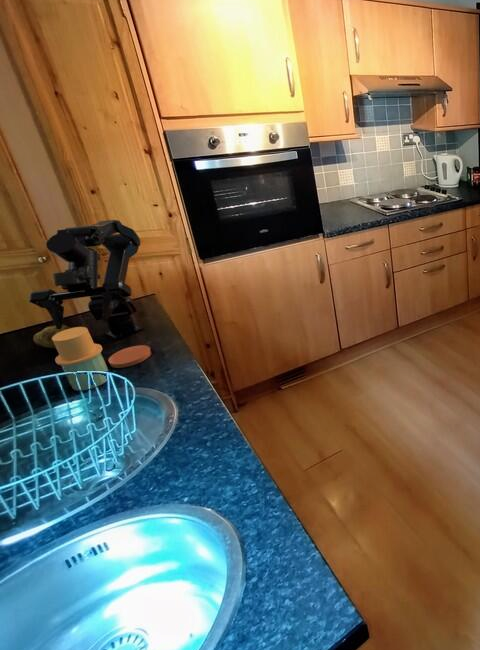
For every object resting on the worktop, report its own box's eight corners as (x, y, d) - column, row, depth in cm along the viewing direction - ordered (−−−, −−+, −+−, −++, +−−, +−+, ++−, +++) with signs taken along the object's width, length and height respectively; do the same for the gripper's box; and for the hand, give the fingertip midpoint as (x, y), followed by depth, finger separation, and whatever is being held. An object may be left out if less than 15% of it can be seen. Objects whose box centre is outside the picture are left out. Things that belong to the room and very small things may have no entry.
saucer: (103, 362, 122) (101, 358, 121) (140, 345, 129) (139, 342, 129) (120, 371, 118) (118, 367, 118) (158, 354, 125) (156, 350, 125)
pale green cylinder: (67, 385, 113) (54, 358, 110) (102, 369, 119) (90, 344, 115) (80, 394, 110) (67, 367, 106) (116, 377, 116) (104, 351, 112)
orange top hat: (51, 364, 110) (38, 337, 107) (94, 347, 117) (83, 321, 114) (68, 374, 106) (54, 347, 103) (111, 356, 113) (100, 329, 110)
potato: (75, 334, 134) (64, 311, 131) (84, 350, 127) (72, 326, 124) (36, 346, 129) (24, 322, 125) (43, 363, 121) (30, 338, 118)
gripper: (15, 262, 109) (11, 323, 104) (111, 251, 115) (111, 308, 110) (45, 279, 118) (42, 335, 114) (131, 268, 125) (132, 321, 120)
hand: (82, 325), depth 114 cm, fingers open, 9 cm apart
